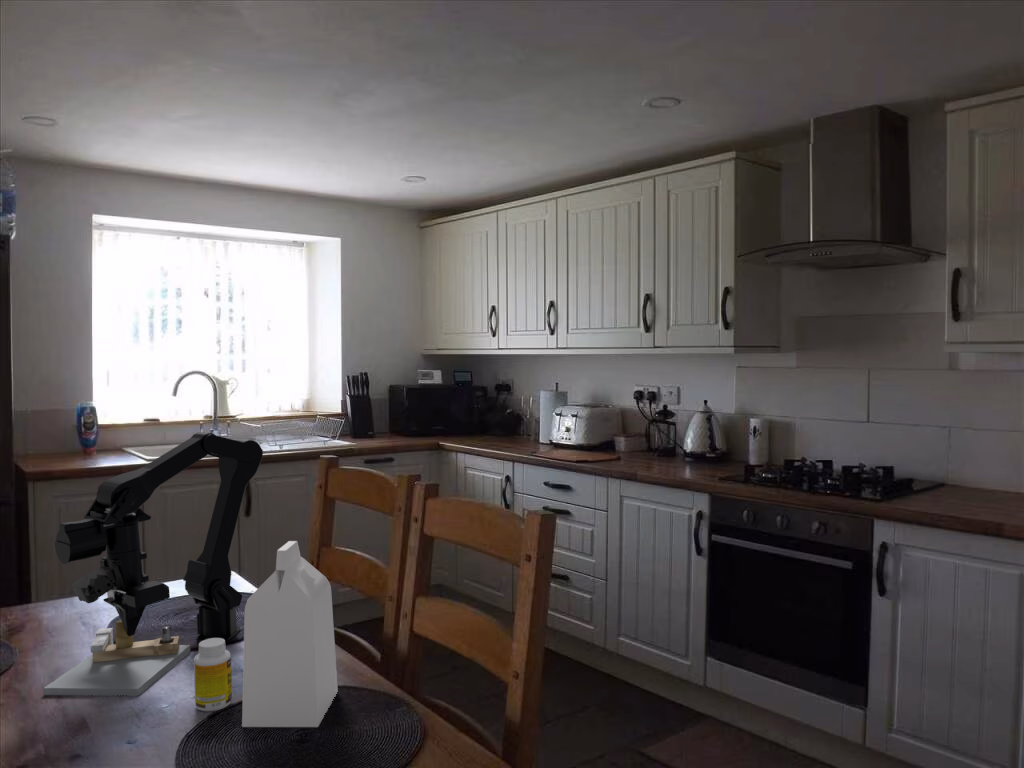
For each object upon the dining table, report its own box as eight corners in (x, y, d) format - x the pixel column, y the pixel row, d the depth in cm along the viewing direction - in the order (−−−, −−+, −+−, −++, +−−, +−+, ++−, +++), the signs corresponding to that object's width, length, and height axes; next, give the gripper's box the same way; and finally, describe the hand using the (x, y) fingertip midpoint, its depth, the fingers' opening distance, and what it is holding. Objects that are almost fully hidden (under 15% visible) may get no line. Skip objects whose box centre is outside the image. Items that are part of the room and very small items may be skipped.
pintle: (173, 649, 148) (172, 626, 148) (169, 652, 146) (168, 629, 146) (164, 649, 148) (163, 626, 148) (160, 652, 146) (159, 629, 146)
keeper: (113, 647, 149) (112, 627, 149) (105, 664, 141) (104, 643, 141) (99, 649, 149) (98, 629, 148) (90, 666, 141) (89, 644, 141)
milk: (268, 692, 132) (264, 536, 131) (337, 692, 132) (333, 536, 130) (241, 727, 120) (236, 556, 119) (317, 727, 120) (313, 555, 118)
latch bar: (179, 645, 150) (178, 612, 149) (177, 653, 146) (176, 619, 146) (96, 655, 145) (95, 621, 145) (92, 663, 142) (90, 628, 141)
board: (190, 651, 150) (190, 645, 150) (138, 695, 131) (137, 688, 131) (107, 650, 151) (107, 644, 151) (43, 695, 132) (43, 688, 132)
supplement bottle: (234, 708, 126) (232, 644, 126) (196, 716, 124) (194, 651, 123) (230, 694, 131) (228, 633, 131) (193, 701, 129) (191, 639, 128)
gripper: (52, 554, 142) (60, 641, 143) (102, 567, 130) (111, 661, 131) (115, 540, 151) (122, 621, 151) (167, 551, 139) (175, 638, 140)
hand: (131, 635), depth 143 cm, fingers closed
